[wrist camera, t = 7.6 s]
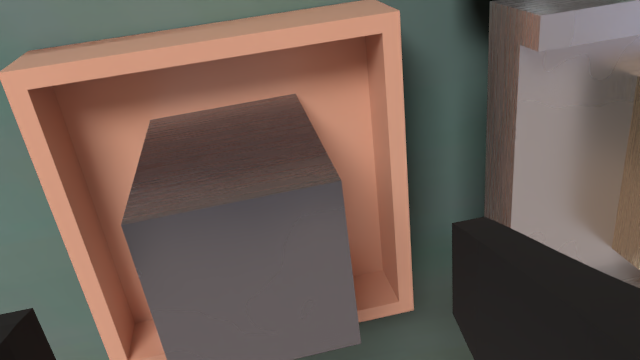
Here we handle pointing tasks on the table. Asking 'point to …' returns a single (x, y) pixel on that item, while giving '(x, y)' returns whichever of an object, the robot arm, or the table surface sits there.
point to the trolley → (567, 128)
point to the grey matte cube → (242, 235)
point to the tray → (207, 93)
